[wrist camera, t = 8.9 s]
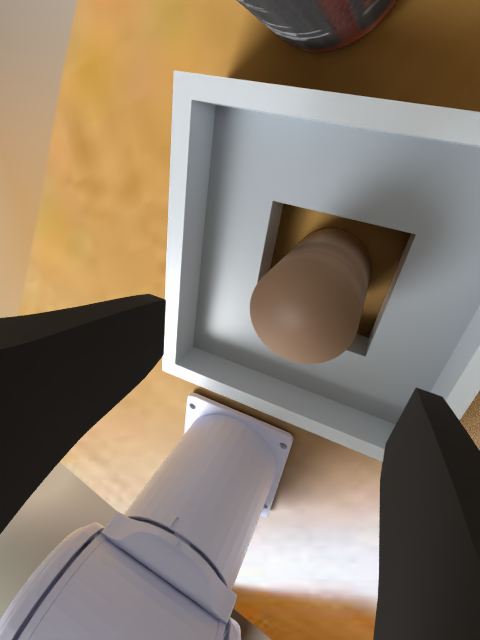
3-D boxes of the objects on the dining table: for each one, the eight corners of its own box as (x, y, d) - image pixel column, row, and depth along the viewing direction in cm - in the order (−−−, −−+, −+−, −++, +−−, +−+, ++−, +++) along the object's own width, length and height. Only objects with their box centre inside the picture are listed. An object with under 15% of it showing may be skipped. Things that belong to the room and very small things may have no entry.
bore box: (417, 420, 19) (420, 478, 16) (196, 337, 23) (162, 370, 19) (580, 138, 12) (649, 135, 9) (221, 86, 16) (174, 70, 12)
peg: (355, 314, 18) (338, 379, 13) (283, 291, 19) (241, 342, 14) (384, 240, 16) (376, 283, 11) (301, 219, 17) (260, 249, 12)
